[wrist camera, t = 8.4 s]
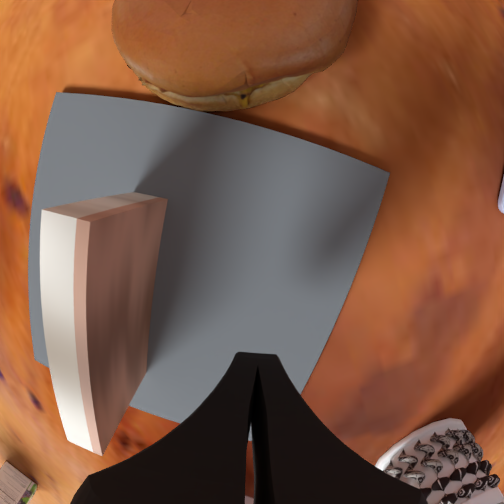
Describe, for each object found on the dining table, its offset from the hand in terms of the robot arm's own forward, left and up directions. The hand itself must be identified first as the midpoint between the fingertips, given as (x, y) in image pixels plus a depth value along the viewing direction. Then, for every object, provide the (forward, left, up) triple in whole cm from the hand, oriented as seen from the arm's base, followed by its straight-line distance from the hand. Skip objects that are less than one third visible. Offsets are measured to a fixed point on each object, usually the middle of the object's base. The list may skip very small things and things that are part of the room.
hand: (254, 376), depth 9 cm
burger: (+5, -13, -5) cm, 15 cm away
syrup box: (+24, +39, -4) cm, 46 cm away
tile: (+6, 0, -4) cm, 7 cm away
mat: (+5, 0, -4) cm, 6 cm away
